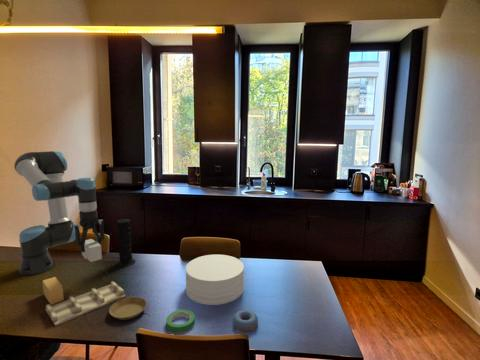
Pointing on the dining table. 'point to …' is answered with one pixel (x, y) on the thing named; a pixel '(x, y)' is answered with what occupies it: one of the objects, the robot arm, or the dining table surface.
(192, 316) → the tape roll
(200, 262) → the plate stack
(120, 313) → the plant saucer
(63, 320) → the rack
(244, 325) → the doughnut
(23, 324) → the dining table surface
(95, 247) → the grey bar
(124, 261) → the handle grip
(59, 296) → the tan rectangular block
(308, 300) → the dining table surface
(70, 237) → the robot arm
